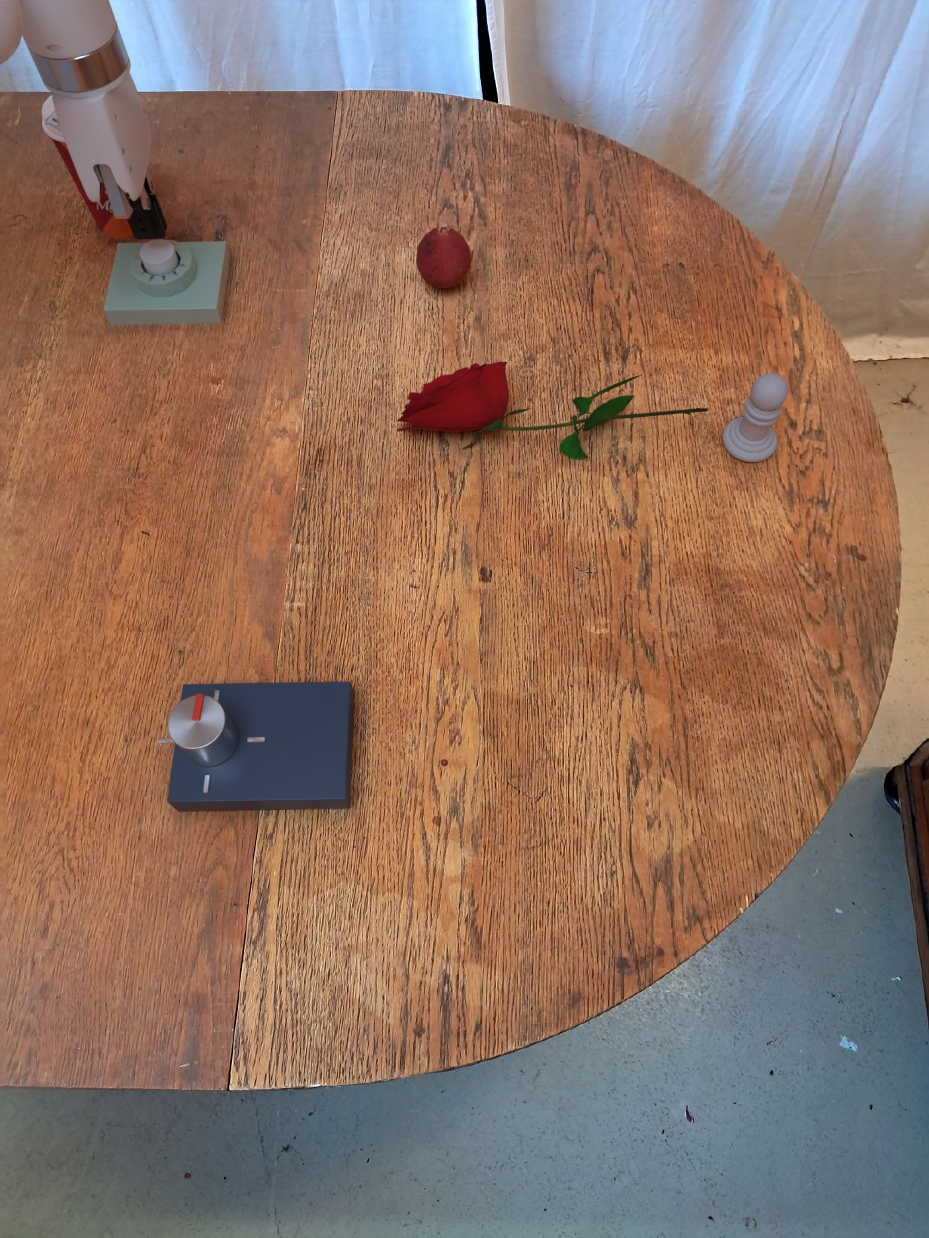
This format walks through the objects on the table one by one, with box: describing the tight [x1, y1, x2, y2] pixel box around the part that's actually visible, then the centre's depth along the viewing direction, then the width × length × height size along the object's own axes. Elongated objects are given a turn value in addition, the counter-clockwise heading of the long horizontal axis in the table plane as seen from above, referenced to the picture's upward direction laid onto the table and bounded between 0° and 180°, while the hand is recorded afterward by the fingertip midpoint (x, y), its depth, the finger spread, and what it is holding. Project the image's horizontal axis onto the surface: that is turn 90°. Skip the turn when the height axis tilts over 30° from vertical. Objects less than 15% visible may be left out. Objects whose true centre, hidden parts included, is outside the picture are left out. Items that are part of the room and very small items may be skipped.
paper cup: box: [41, 94, 134, 239], centre depth 97 cm, size 8×8×14 cm
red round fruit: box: [415, 222, 472, 289], centre depth 95 cm, size 6×6×8 cm
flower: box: [396, 361, 709, 460], centre depth 86 cm, size 9×10×30 cm
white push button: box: [140, 238, 179, 276], centre depth 95 cm, size 4×4×2 cm
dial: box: [167, 694, 239, 766], centre depth 70 cm, size 4×4×5 cm
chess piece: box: [722, 372, 789, 463], centre depth 85 cm, size 5×5×9 cm
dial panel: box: [157, 680, 356, 813], centre depth 74 cm, size 15×10×3 cm, turn 91°
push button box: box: [102, 239, 232, 326], centre depth 97 cm, size 12×10×4 cm
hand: (151, 233), depth 92 cm, fingers closed
